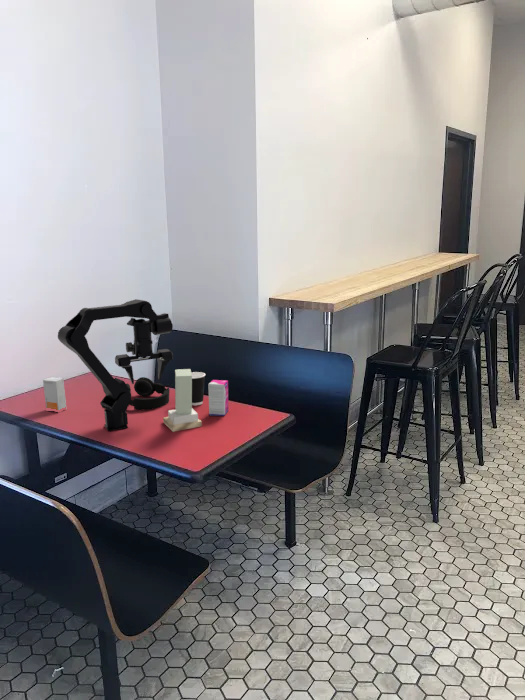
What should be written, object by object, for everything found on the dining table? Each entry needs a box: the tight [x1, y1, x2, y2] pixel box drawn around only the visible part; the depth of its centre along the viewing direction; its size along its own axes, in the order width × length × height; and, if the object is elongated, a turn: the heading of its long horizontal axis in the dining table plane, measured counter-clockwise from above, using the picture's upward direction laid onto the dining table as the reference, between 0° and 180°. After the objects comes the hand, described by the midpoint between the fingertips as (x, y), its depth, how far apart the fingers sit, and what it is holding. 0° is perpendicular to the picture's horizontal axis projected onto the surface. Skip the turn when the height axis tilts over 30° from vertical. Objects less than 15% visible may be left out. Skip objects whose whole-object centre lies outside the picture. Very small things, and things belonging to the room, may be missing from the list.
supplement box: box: [208, 379, 229, 417], centre depth 204 cm, size 6×6×12 cm
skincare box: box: [42, 376, 67, 410], centre depth 212 cm, size 6×4×12 cm
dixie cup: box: [191, 371, 206, 406], centre depth 216 cm, size 8×8×11 cm
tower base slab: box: [162, 416, 203, 433], centre depth 195 cm, size 10×10×2 cm
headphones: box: [125, 376, 170, 411], centre depth 220 cm, size 18×8×20 cm
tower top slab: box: [167, 407, 199, 425], centre depth 194 cm, size 8×8×2 cm
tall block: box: [174, 368, 193, 415], centre depth 191 cm, size 5×5×14 cm
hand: (146, 381), depth 199 cm, fingers open, 9 cm apart
